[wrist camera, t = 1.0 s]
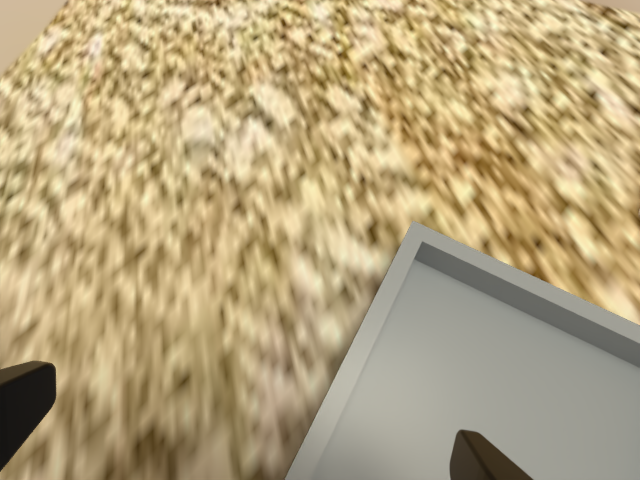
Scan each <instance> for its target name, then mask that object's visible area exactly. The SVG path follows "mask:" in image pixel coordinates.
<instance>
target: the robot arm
mask: <svg viewBox="0 0 640 480" xmlns="http://www.w3.org/2000/svg"><path fill="white" fill-rule="evenodd" d="M55 399H56V368H55V366H54V365H53V364H52V363H48V362H42V361H30V362H26V363H23V364H19V365H15V366H12V367H8V368H4V369H1V370H0V471H1V470H2V469H3V468H4V467H5V465H6V464H7V463H8V462H9V461H10V459H11V458H12V457H13V456H14V454H15V453H16V452H17V451H18V449H19V448H20V447H21V446H22V444H23V443H24V442H25V441H26V439H27V438H28V437H29V435H30V434H31V433H32V432H33V430H34V429H35V428H36V427H37V425H38V424H39V423H40V422H41V420H42V419H43V418H44V417H45V415H46V414H47V413H48V412H49V410H50V409H51V408H52V406H53V404H54V402H55ZM449 471H450V479H451V480H534V479H532V478H531V477H530V476H529V475H528V474H527V473H526V472H524V471H523V470H522V469H521V468H520V467H519V466H517V465H516V464H515V463H514V462H513V461H512V460H510V459H509V458H508V457H507V456H506V455H505V454H504V453H502V452H501V451H500V450H499V449H498V448H497V447H495V446H494V445H493V444H492V443H491V442H490V441H488V440H487V439H486V438H485V437H484V436H483V435H481V434H480V433H479V432H476V431H470V430H464V429H460V430H459V431H458V432H457V434H456V437H455V441H454V446H453V450H452V454H451V458H450V465H449Z"/></svg>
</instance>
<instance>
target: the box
mask: <svg viewBox="0 0 640 480" xmlns="http://www.w3.org/2000/svg"><path fill="white" fill-rule="evenodd" d="M460 429H464V430H470V431H476V432H479V433H480V434H481V435H483V436H484V437H485V438H486V439H487V440H488V441H490V442H491V443H492V444H493V445H494V446H495V447H497V448H498V449H499V450H500V451H501V452H502V453H504V454H505V455H506V456H507V457H508V458H509V459H510V460H512V461H513V462H514V463H515V464H516V465H517V466H519V467H520V468H521V469H522V470H523V471H524V472H526V473H527V474H528V475H529V476H530V477H531V478H532V479H534V480H640V325H638V324H635V323H633V322H631V321H629V320H627V319H625V318H622V317H620V316H618V315H616V314H614V313H612V312H609V311H607V310H605V309H603V308H601V307H599V306H596V305H594V304H592V303H590V302H588V301H586V300H583V299H581V298H579V297H577V296H575V295H573V294H570V293H568V292H566V291H564V290H562V289H560V288H557V287H555V286H553V285H551V284H549V283H547V282H544V281H542V280H540V279H538V278H536V277H534V276H531V275H529V274H527V273H525V272H523V271H521V270H518V269H516V268H514V267H512V266H510V265H508V264H505V263H503V262H501V261H499V260H497V259H495V258H492V257H490V256H488V255H486V254H484V253H482V252H479V251H477V250H475V249H473V248H471V247H469V246H466V245H464V244H462V243H460V242H458V241H456V240H453V239H451V238H449V237H447V236H445V235H443V234H440V233H438V232H436V231H434V230H432V229H430V228H427V227H425V226H423V225H421V224H419V223H417V222H414V221H412V223H411V225H410V227H409V229H408V231H407V233H406V235H405V237H404V239H403V241H402V243H401V245H400V247H399V249H398V251H397V253H396V255H395V257H394V259H393V261H392V264H391V266H390V268H389V270H388V272H387V274H386V276H385V278H384V280H383V282H382V284H381V286H380V288H379V290H378V292H377V294H376V296H375V298H374V300H373V302H372V304H371V306H370V308H369V310H368V312H367V314H366V316H365V318H364V320H363V322H362V324H361V326H360V328H359V330H358V332H357V334H356V336H355V338H354V340H353V342H352V344H351V346H350V348H349V350H348V352H347V354H346V356H345V358H344V360H343V362H342V364H341V366H340V368H339V370H338V372H337V374H336V376H335V378H334V380H333V382H332V384H331V386H330V389H329V391H328V393H327V395H326V397H325V399H324V401H323V403H322V405H321V407H320V409H319V411H318V413H317V415H316V417H315V419H314V421H313V423H312V425H311V427H310V429H309V431H308V433H307V435H306V437H305V439H304V441H303V443H302V445H301V447H300V449H299V451H298V453H297V455H296V457H295V459H294V461H293V463H292V465H291V467H290V469H289V471H288V473H287V475H286V477H285V479H284V480H451V479H450V471H449V465H450V458H451V454H452V450H453V446H454V441H455V437H456V434H457V432H458V431H459V430H460Z"/></svg>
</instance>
